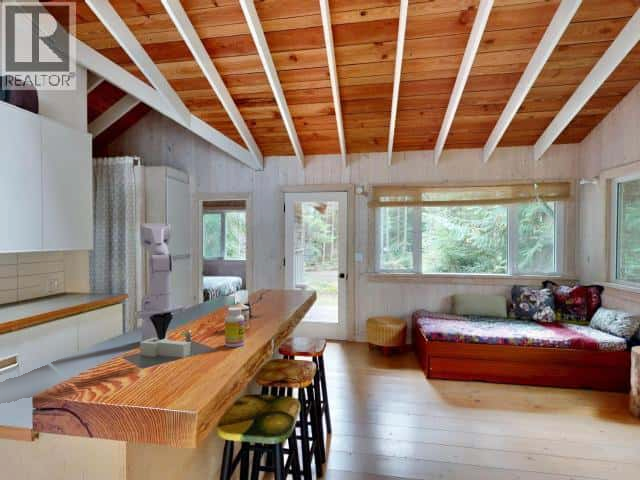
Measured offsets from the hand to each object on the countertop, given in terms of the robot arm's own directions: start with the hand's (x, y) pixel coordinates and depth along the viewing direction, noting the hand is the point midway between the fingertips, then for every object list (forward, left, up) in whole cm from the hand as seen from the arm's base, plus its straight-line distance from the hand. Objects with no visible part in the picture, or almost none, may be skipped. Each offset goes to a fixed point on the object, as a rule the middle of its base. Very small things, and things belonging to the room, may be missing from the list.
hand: (161, 338), depth 107 cm
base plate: (-6, +6, -7) cm, 11 cm away
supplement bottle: (+1, +26, -8) cm, 27 cm away
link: (-6, +4, -7) cm, 10 cm away
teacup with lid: (-19, +42, -8) cm, 46 cm away
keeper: (-7, +11, -7) cm, 15 cm away
